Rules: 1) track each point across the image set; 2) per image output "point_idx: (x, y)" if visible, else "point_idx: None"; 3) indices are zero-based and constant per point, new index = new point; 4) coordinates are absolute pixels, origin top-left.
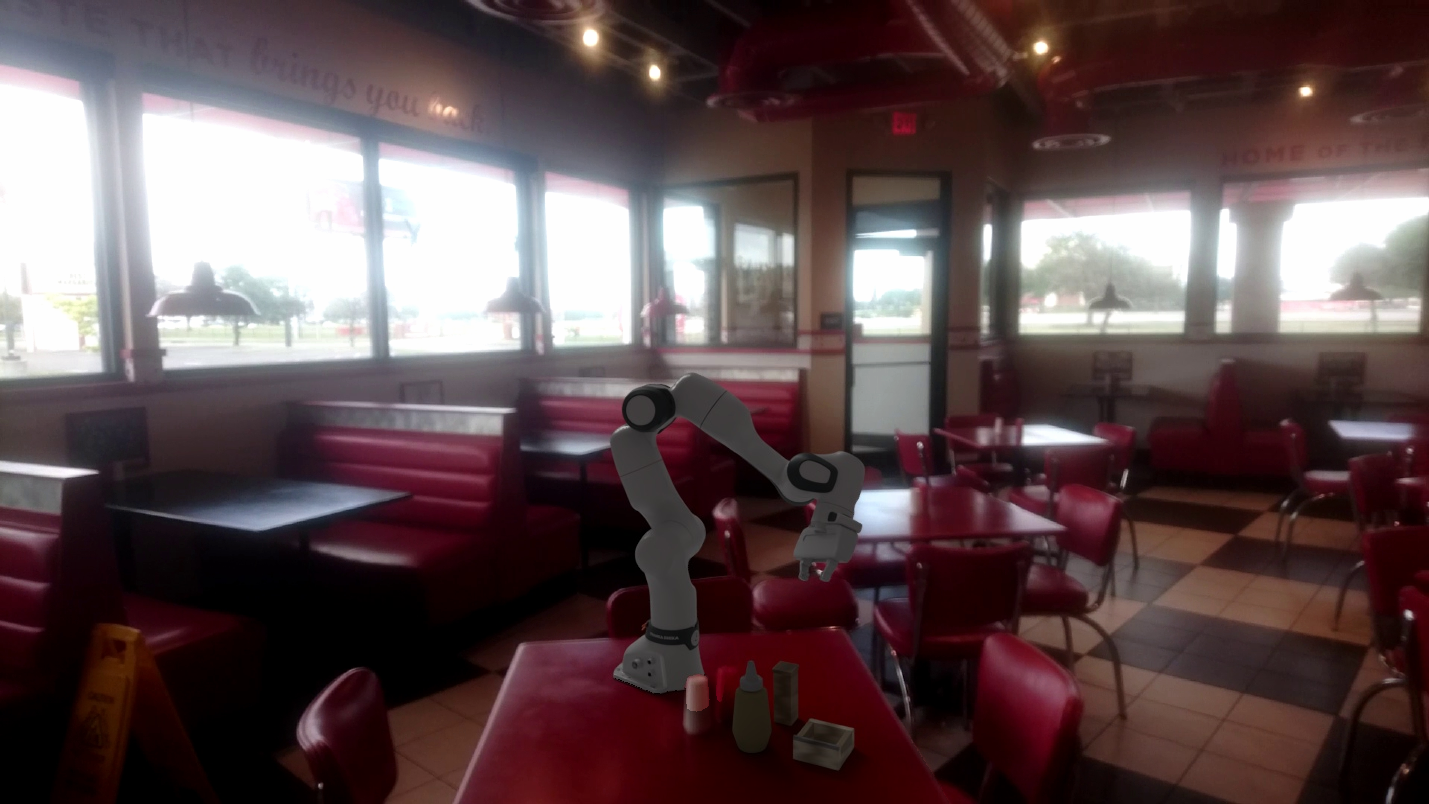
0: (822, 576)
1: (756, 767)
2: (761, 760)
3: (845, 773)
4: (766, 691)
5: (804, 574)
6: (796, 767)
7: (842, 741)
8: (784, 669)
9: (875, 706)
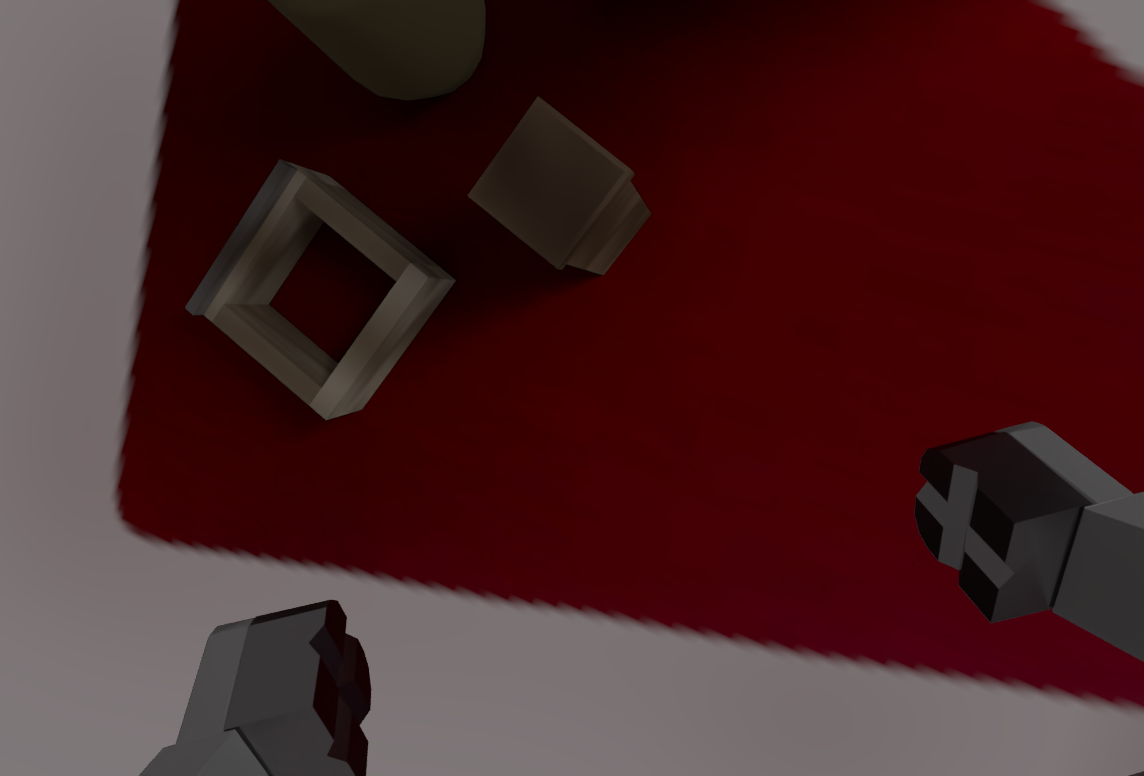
0: (223, 647)
1: (303, 33)
2: None
3: None
4: (296, 11)
5: (971, 519)
6: None
7: (248, 343)
8: (516, 168)
9: (621, 605)
